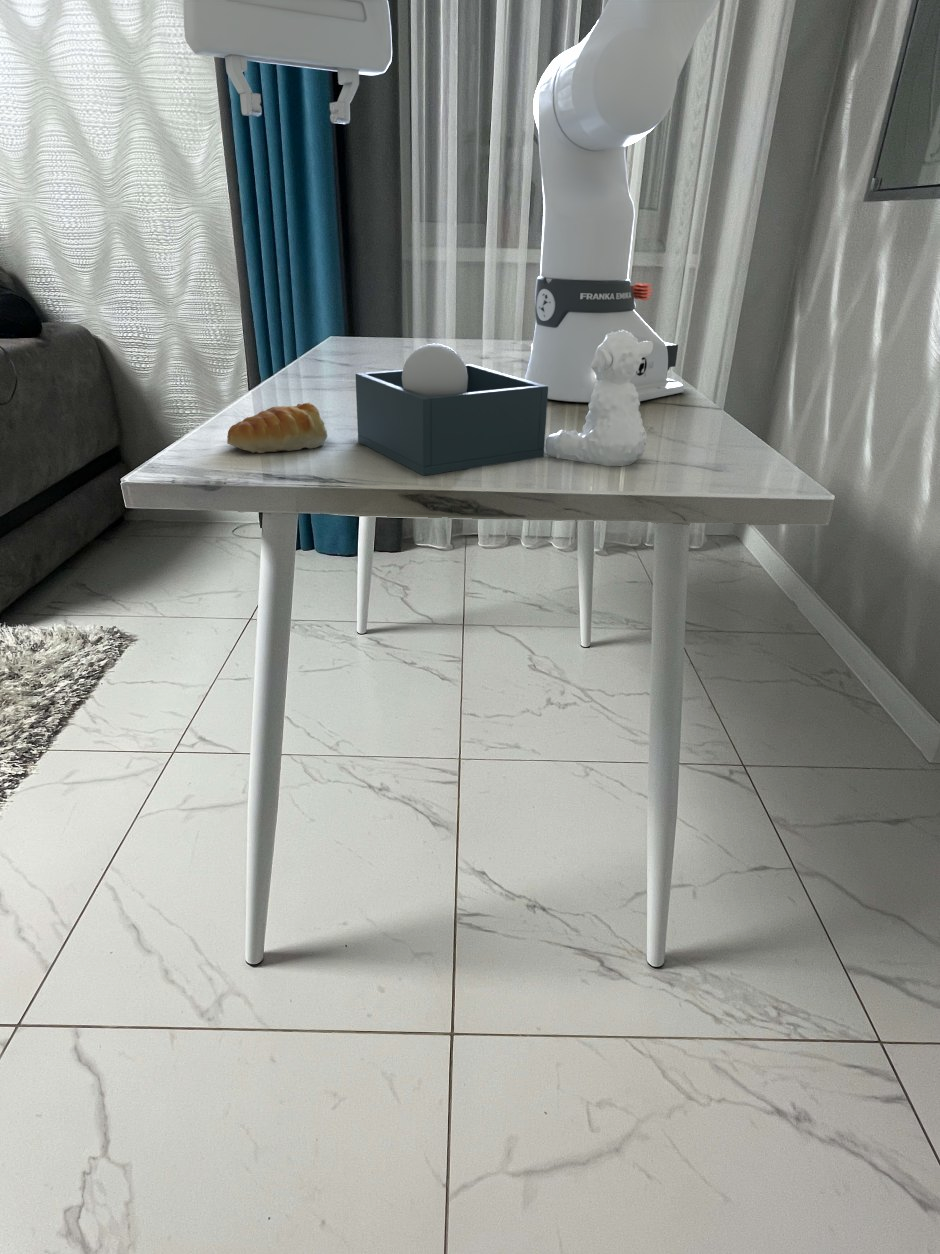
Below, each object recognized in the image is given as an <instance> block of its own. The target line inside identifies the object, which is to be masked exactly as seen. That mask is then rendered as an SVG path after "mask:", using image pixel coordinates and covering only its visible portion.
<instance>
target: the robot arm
mask: <svg viewBox="0 0 940 1254" xmlns="http://www.w3.org/2000/svg"><path fill="white" fill-rule="evenodd" d="M719 1H720V0H607V2H606V5H605V6H604V8H603V9H602V12H601V14H600V16H599V18H598V19H597V21H596V23H595V24H594V26H593V27H592V29H591V30H590V32H588V34H587V35H586V36H585V37H584V38H583V39H582V40H581V41H580V42H579V43H578V44H576V45H575V46H572V47H571V48H568V49H567V50H565V51H563V52H561V53H560V54H558V55H557V56H556V57H555V58H554V59H553V60H551V62H550V64H549V65H548V66H547V68H546V69H545V71H543V74H542V76H541V78H540V80H539V82H538V85H537V87H536V90H535V93H534V97H533V116H534V121H535V124H536V128H537V134H538V152H539V164H540V173H541V175H540V176H541V186H542V198H543V199H542V204H543V211H542V212H543V213H542V215H543V216H542V235H541V252H540V253H541V254H540V255H541V256H540V273H539V275H538V276H537V277H536V283H535V293H534V294H535V295H534V312H535V313H534V315H535V328H534V335H533V339H532V340H533V341H532V343H531V345H530V347H531V348H530V350H531V352H530V357H529V361H528V365H527V369H526V373H525V376H524V379H525V380H528V381H532V382H535V383H539V384H542V385H546V386H548V399H547V400H553V401H561V402H572V403H573V402H574V403H590V402H591V395H592V393H593V390H594V389H595V384H596V383H598V381H597V379H596V374H595V371H594V370H593V369H592V368H591V364H592V362H593V359H594V357H595V354H596V350H597V347H598V346H599V345H601V344H602V343H603V342H604V340H605V338H606V335H607V334H608V333H612V332H617V331H622V330H624V331H626V332H627V333H632V335H633V336H634V337H635V338H637V339H638V343H640V342H644V341H652V343H653V349H652V352H651V354H650V355H648V356H646V357H643V358H642V361H641V364H640V366H639V369H638V370H637V371H636V373H635V375H634V377H632V378H631V379H630V383H632V384H634V386H635V388H636V391H637V392H638V395H639V396H638V400H639V402H644V401H649V400H653V399H658V398H662V397H666V396H672V395H675V394H680V393H684V385H683V384H682V383H681V382H679V381H676V380H675V379H672V378H668V372H669V371H670V368H675V367H676V365H677V357H678V351H679V350H678V349H679V344H675V343H671V342H666V341H664V340H663V338H661V337H660V336H659V335H658V334H657V333H656V332H655V331H654V330H653V329H652V328H651V327H650V325H648V323H646V321H645V320H644V319H643V318H642V317H641V316H640V315H639V314H638V313H637V312H636V310H635V309H636V308H637V305H636V301H635V300H641V301H649V300H650V299H651V297H652V296H653V294H652V293H654V291H653V287H652V284H651V283H642V282H636V283H635V284H634V285H633V284H632V281H631V280H630V278H629V274H630V273H629V272H630V264H631V263H630V262H631V253H632V245H633V244H632V243H633V236H634V235H633V234H634V226H635V225H634V224H635V213H636V212H635V205H634V201H633V199H632V197H631V194H630V187H629V183H628V181H629V180H628V173H627V161H626V159H627V158H626V147H628V146H630V145H632V144H634V143H636V142H638V141H640V140H641V139H642V138H644V137H646V135H648V134H649V133H650V132H651V131H653V130H654V129H655V127H657V126H658V125H659V124H660V123H661V122H662V121H663V120H664V118H665V117H666V116H667V114H668V113H669V111H670V109H671V107H672V105H673V104H674V103H673V102H674V100H675V97H676V93H677V88H678V79H679V77H680V75H681V72H682V70H683V69H684V66H685V63H686V62H687V60H688V57H689V55H690V52H691V50H692V48H693V46H694V44H695V42H696V40H697V38H698V36H699V34H700V32H701V30H702V29H703V27H704V25H705V23H706V22H707V20H708V18H709V17H710V16H711V14H712V12H713V11H714V9H715V7H716V6H717V4H718V3H719ZM183 28H184V31H183V32H184V38H185V42H186V44H187V45H188V47H189V48H190V49H191V51H192V53H194V54H195V55H198V56H206V57H214V58H222V59H224V60H225V61H224V62H225V70H226V71H225V72H226V74H227V76H228V78H229V79H230V81H231V83H232V85H233V86H234V88H235V90H236V92H237V93H238V95H239V100H240V111H241V114H242V116H246V117H247V116H248V117H261V116H262V113H263V111H262V106H261V104H262V98H261V97H262V95H261V93H257V92H256V93H255V92H253V91H252V89H251V87H250V84H249V82H248V81H247V79H246V76H245V75H244V72H247V70H248V62H256V63H264V64H272V65H281V66H290V67H296V68H306V69H315V70H322V71H331V72H337V80H338V81H337V83H338V85H341V86H342V85H343V86H342V89H341V91H340V93H339V96H338V98H337V101H333V102H329V112H330V115H329V119H330V120H329V121H330V122H331V123H332V124H341V125H347V124H350V122H351V105H350V104H351V103H352V101H353V99H354V96H355V95H356V92H357V90H358V88H359V86H360V75H364V76H378V75H382V74H384V73H386V71H387V70H388V68H389V66H391V63H392V59H393V58H392V57H393V42H392V23H391V14H390V5H389V1H388V0H183Z"/></svg>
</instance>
